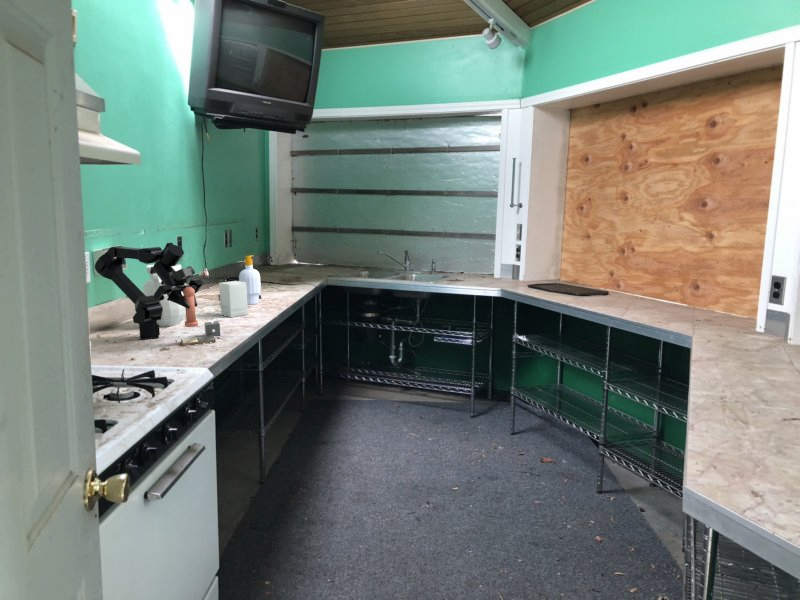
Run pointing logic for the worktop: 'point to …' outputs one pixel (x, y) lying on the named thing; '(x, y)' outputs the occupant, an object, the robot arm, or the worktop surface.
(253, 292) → the soap bottle
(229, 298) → the supplement box
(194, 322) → the pawn
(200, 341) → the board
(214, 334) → the die
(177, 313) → the pitcher
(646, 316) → the worktop surface
